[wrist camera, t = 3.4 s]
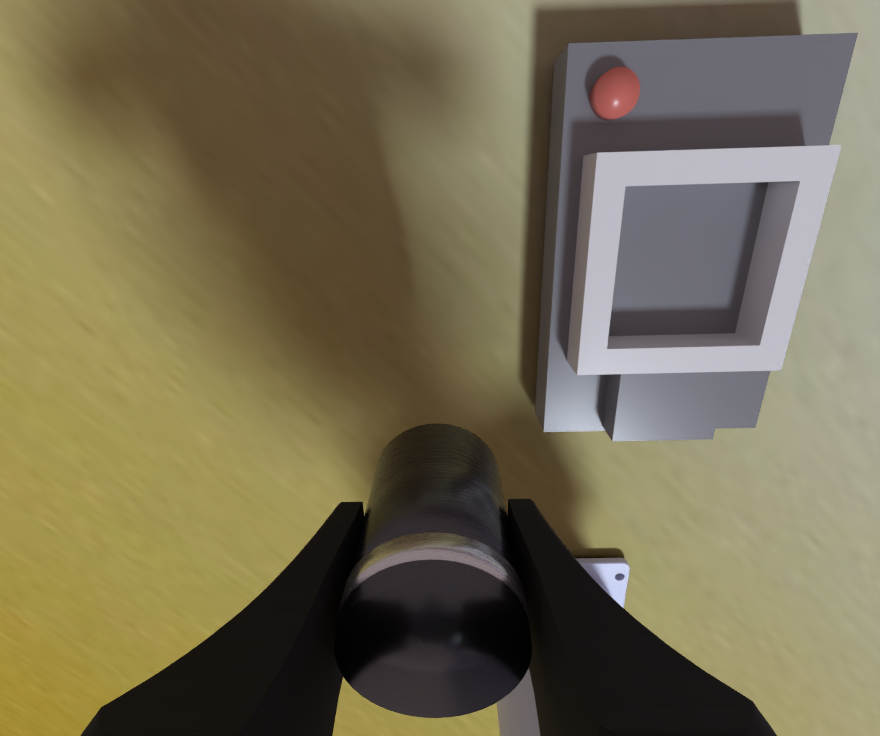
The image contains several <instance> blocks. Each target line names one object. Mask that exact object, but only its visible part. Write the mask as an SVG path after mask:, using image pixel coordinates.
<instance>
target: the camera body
mask: <svg viewBox="0 0 880 736" xmlns="http://www.w3.org/2000/svg"><path fill="white" fill-rule="evenodd" d="M857 34H858V33H842V34H814V35H786V36H758V37H730V38H702V39H674V40H647V41H619V42H591V43H568V45H567V46H566V47H565V48H564V49H563V50H562V52H561V53H560V54H559V55H558V56H557V57H556V59H555V60H554V72H553V90H552V108H551V127H550V145H549V163H548V181H547V200H546V218H545V236H544V254H543V273H542V291H541V309H540V327H539V345H538V364H537V382H536V400H535V412H536V415H537V417H538V419H539V422H540V424H541V427H542V429H543V432H567V431H606V432H607V434H608V435H609V437H610V438H611V440H612V441H648V440H697V439H713V435H714V431H715V428H755V427H756V423H757V419H758V416H759V412H760V408H761V404H762V400H763V396H764V392H765V389H766V385H767V381H768V377H769V373H770V371H778V370H781V369H782V365H783V361H784V358H785V354H786V350H787V346H788V343H789V339H790V335H791V331H792V328H793V324H794V320H795V317H796V313H797V309H798V305H799V302H800V298H801V294H802V291H803V287H804V283H805V279H806V276H807V272H808V268H809V265H810V261H811V257H812V253H813V250H814V246H815V242H816V239H817V235H818V231H819V227H820V224H821V220H822V216H823V213H824V209H825V205H826V201H827V198H828V194H829V190H830V187H831V183H832V179H833V175H834V172H835V168H836V164H837V161H838V157H839V153H840V149H841V146H842V145H829V142H830V138H831V134H832V131H833V127H834V123H835V119H836V115H837V111H838V108H839V104H840V100H841V96H842V92H843V88H844V84H845V81H846V77H847V73H848V69H849V65H850V61H851V57H852V54H853V50H854V46H855V42H856V38H857Z"/></svg>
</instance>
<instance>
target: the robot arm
mask: <svg viewBox="0 0 880 736" xmlns="http://www.w3.org/2000/svg"><path fill="white" fill-rule="evenodd" d="M363 520H364V511H363V502H341V503H340V504H339V505H338V506H337V507H336V508H335V510H334V511H333V512H332V513H331V515H330V516H329V517H328V519H327V520H326V521H325V523H324V524H323V525H322V526H321V528H320V529H319V530H318V531H317V533H316V534H315V535H314V536H313V537H312V539H311V540H310V541H309V542H308V543H307V545H306V546H305V547H304V548H303V549H302V550H301V552H300V553H299V554H298V555H297V556H296V557H295V559H294V560H293V561H292V562H291V563H290V564H289V565H288V566H287V567H286V568H285V569H284V570H283V571H282V572H281V573H280V575H279V576H278V577H277V578H276V579H275V580H274V581H273V582H272V583H271V584H270V585H269V586H268V587H267V588H266V589H265V590H264V591H263V592H262V593H261V594H260V595H259V596H258V597H256V598H255V599H254V600H253V601H252V602H251V603H250V604H249V605H248V606H247V607H245V608H244V609H243V610H242V611H241V612H240V613H239V614H237V615H236V616H235V617H234V618H233V619H231V620H230V621H229V622H228V623H226V624H225V625H224V626H223V627H221V628H220V629H219V630H217V631H216V632H215V633H214V634H212V635H211V636H210V637H209V638H207V639H206V640H205V641H203V642H202V643H201V644H199V645H198V646H197V647H195V648H194V649H192V650H191V651H190V652H188V653H187V654H185V655H184V656H183V657H181V658H180V659H178V660H177V661H175V662H174V663H172V664H171V665H169V666H168V667H166V668H165V669H163V670H162V671H160V672H159V673H157V674H156V675H154V676H153V677H151V678H149V679H148V680H146V681H144V682H143V683H141V684H140V685H138V686H136V687H135V688H133V689H131V690H130V691H128V692H126V693H125V694H123V695H121V696H120V697H118V698H116V699H115V700H113V701H111V702H110V703H108V704H106V705H104V706H103V707H101V708H100V710H99V711H98V712H97V714H96V715H95V716H94V718H93V719H92V721H91V722H90V723H89V725H88V726H87V727H86V729H85V730H84V731H83V733H82V734H81V736H332V734H333V728H334V722H335V715H336V709H337V703H338V697H339V693H340V688H341V683H342V679H343V675H342V674H341V672H340V670H339V667H338V665H337V663H336V659H335V655H334V639H335V634H336V630H337V629H336V624H337V616H338V612H339V608H340V604H341V600H342V596H343V592H344V588H345V585H346V581H347V579H348V577H349V575H350V573H351V569H352V565H353V561H354V557H355V553H356V549H357V545H358V540H359V536H360V532H361V528H362V524H363ZM508 522H509V527H510V532H511V537H512V542H513V548H514V553H515V558H516V563H517V568H518V573H519V577H520V580H521V582H522V584H523V588H524V593H525V597H526V602H527V607H528V612H529V617H530V623H531V634H530V635H531V640H532V657H531V662H530V665H529V668H528V670H527V672H526V674H525V676H524V678H523V679H522V681H521V682H520V683H519V684H518V686H517V687H516V688H515V689H514V690H513V691H512V692H511V693H509V694H508V695H507V696H505V697H504V698H503V699H501V700H500V701H498V702H497V710H498V720H499V730H500V736H777V735H776V734H775V732H774V731H773V729H772V728H771V726H770V725H769V723H768V722H767V721H766V719H765V718H764V717H763V715H762V714H761V713H760V711H759V710H758V709H757V707H756V706H755V704H754V703H753V701H751V700H750V699H748V698H747V697H745V696H743V695H742V694H740V693H739V692H737V691H735V690H734V689H732V688H731V687H729V686H727V685H726V684H724V683H723V682H721V681H720V680H718V679H716V678H715V677H713V676H712V675H710V674H708V673H707V672H705V671H704V670H702V669H701V668H699V667H698V666H696V665H695V664H694V663H692V662H691V661H689V660H688V659H687V658H685V657H684V656H682V655H681V654H680V653H678V652H677V651H675V650H674V649H673V648H671V647H670V646H669V645H667V644H666V643H665V642H663V641H662V640H661V639H660V638H658V637H657V636H656V635H655V634H653V633H652V632H651V631H650V630H648V629H647V628H646V627H645V626H643V625H642V624H641V623H640V622H638V621H637V620H636V619H635V618H634V617H633V616H632V615H630V614H629V613H628V612H627V611H626V610H625V609H624V608H623V607H624V601H625V595H626V589H627V583H628V577H629V571H630V566H629V564H628V562H627V561H626V560H625V559H623V558H577V559H575V557H574V556H573V555H572V554H571V553H570V551H569V550H568V549H567V548H566V546H565V545H564V544H563V543H562V541H561V540H560V539H559V538H558V536H557V535H556V534H555V532H554V531H553V530H552V528H551V527H550V525H549V524H548V523H547V521H546V520H545V518H544V517H543V516H542V514H541V513H540V511H539V510H538V508H537V507H536V505H535V503H534V502H533V501H532V500H531V499H508ZM619 573H620V574H619ZM617 574H618V575H617Z"/></svg>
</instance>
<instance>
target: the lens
mask: <svg viewBox="0 0 880 736" xmlns="http://www.w3.org/2000/svg"><path fill="white" fill-rule="evenodd" d="M336 629H337V630H336V634H335V639H334V655H335V659H336V663H337V665H338V667H339V670H340V672H341V674H342V675H343V677H344V678H345V680H346V681H347V682H348V683H349V684H350V685H351V687H352V688H353V689H355V690H356V691H357V692H358V693H359V694H360V695H362V696H363V697H365V698H366V699H368V700H369V701H371V702H373V703H375V704H376V705H378V706H380V707H383V708H385V709H388V710H390V711H394V712H397V713H400V714H405V715H410V716H416V717H425V718H443V717H453V716H460V715H465V714H469V713H473V712H476V711H479V710H481V709H484V708H486V707H488V706H491V705H493V704H495V703H496V702H498V701H500V700H501V699H503V698H504V697H505V696H507V695H508V694H509V693H511V692H512V691H513V690H514V689H515V688H516V687H517V686H518V684H519V683H520V682H521V681H522V679H523V678H524V676H525V674H526V672H527V670H528V668H529V665H530V662H531V657H532V640H531V635H530V634H531V623H530V617H529V612H528V607H527V602H526V597H525V593H524V588H523V584H522V582H521V580H520V577H519V573H518V568H517V563H516V558H515V553H514V548H513V542H512V537H511V532H510V527H509V522H508V517H507V512H506V506H505V501H504V496H503V491H502V486H501V481H500V476H499V470H498V466H497V462H496V460H495V457H494V455H493V453H492V452H491V450H490V449H489V447H488V446H487V445H486V444H485V443H484V442H483V441H482V440H481V439H480V438H479V437H477V436H476V435H474V434H473V433H471V432H469V431H467V430H465V429H462V428H460V427H456V426H453V425H447V424H426V425H421V426H417V427H414V428H411V429H409V430H407V431H405V432H403V433H401V434H400V435H398V436H397V437H395V438H394V439H393V440H392V441H391V442H390V443H389V444H388V445H387V446H386V447H385V449H384V450H383V452H382V454H381V456H380V458H379V460H378V464H377V468H376V472H375V476H374V480H373V484H372V488H371V492H370V496H369V500H368V504H367V508H366V512H365V516H364V520H363V524H362V528H361V532H360V536H359V540H358V545H357V549H356V553H355V557H354V561H353V565H352V569H351V573H350V575H349V577H348V579H347V581H346V585H345V588H344V592H343V596H342V600H341V604H340V608H339V612H338V616H337V624H336Z"/></svg>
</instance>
